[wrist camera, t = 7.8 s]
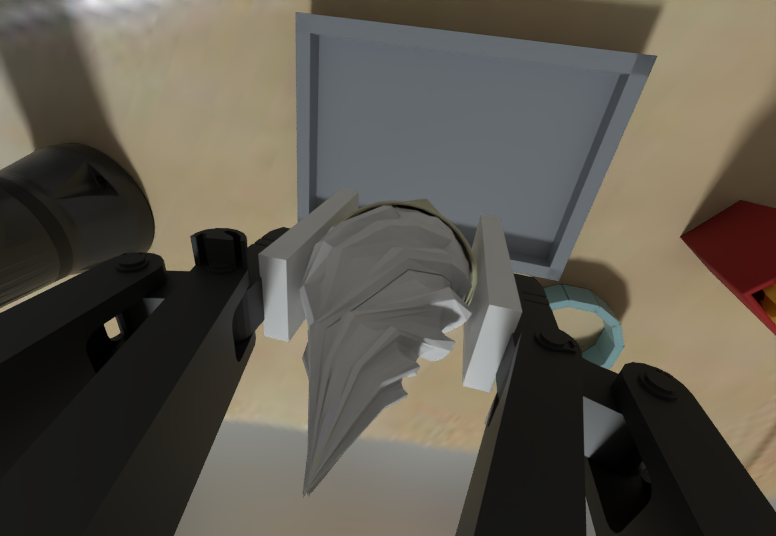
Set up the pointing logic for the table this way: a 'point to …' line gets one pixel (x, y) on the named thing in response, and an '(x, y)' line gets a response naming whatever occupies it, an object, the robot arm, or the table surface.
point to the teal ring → (587, 300)
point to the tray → (462, 126)
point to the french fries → (742, 255)
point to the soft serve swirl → (377, 316)
